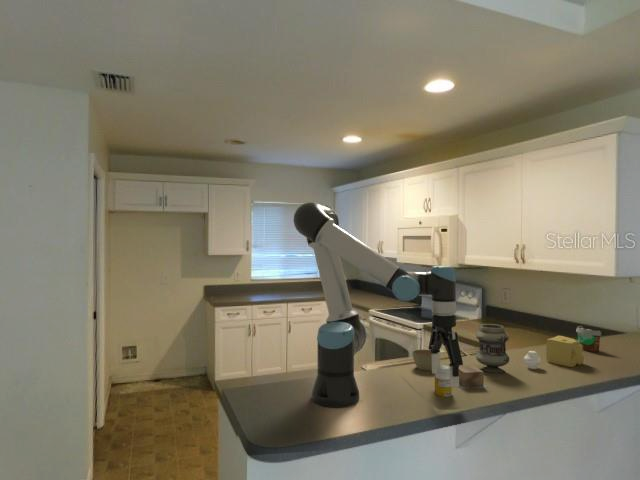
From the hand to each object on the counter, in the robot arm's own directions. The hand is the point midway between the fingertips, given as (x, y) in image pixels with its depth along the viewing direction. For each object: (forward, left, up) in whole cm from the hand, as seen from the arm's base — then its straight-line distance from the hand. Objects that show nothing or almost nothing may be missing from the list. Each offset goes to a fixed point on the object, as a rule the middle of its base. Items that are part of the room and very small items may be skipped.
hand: (444, 379), depth 137 cm
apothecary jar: (+30, +22, -6) cm, 38 cm away
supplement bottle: (0, 0, -6) cm, 6 cm away
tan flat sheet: (+13, +8, -6) cm, 16 cm away
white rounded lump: (+49, +25, -6) cm, 55 cm away
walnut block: (+13, +8, -5) cm, 16 cm away
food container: (+92, +48, -6) cm, 104 cm away
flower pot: (+5, +27, -6) cm, 28 cm away
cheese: (+67, +30, -6) cm, 73 cm away
